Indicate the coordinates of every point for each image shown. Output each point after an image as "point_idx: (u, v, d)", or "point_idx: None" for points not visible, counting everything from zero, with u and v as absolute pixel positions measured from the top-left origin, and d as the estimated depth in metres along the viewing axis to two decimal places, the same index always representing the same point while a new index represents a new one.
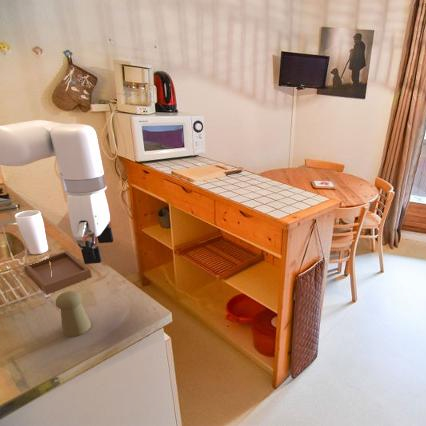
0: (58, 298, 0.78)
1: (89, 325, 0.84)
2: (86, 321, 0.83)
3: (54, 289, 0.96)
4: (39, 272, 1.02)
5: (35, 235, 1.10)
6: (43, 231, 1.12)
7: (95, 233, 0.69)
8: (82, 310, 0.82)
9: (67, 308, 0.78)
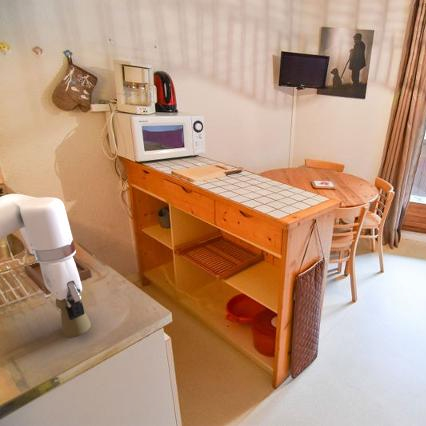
0: None
1: (89, 325, 0.84)
2: (86, 321, 0.83)
3: None
4: (39, 272, 1.02)
5: None
6: None
7: (81, 289, 0.77)
8: None
9: None
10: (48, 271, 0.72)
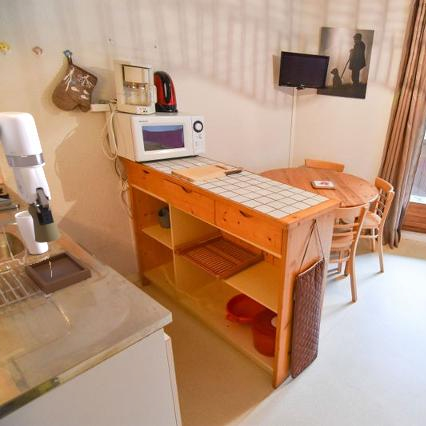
0: (30, 206, 0.89)
1: (59, 235, 0.95)
2: (56, 231, 0.94)
3: (54, 289, 0.96)
4: (39, 272, 1.02)
5: None
6: None
7: (49, 197, 0.88)
8: None
9: None
10: (19, 176, 0.83)
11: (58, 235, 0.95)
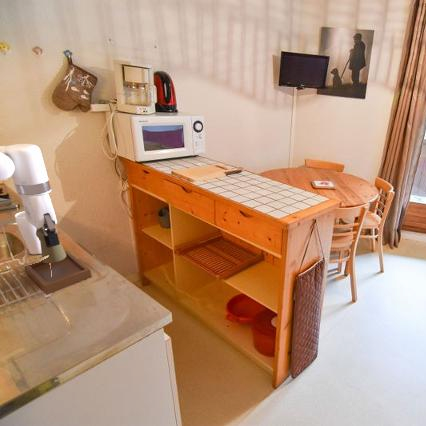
0: (38, 229, 0.96)
1: (64, 255, 1.02)
2: (62, 252, 1.01)
3: (54, 289, 0.96)
4: (39, 272, 1.02)
5: (35, 235, 1.10)
6: None
7: (55, 221, 0.94)
8: None
9: None
10: (28, 203, 0.90)
11: (64, 255, 1.01)
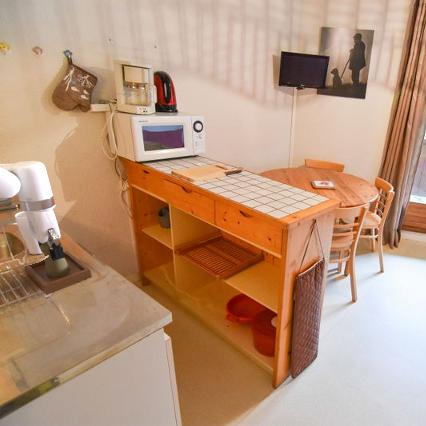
0: (42, 244, 0.98)
1: (68, 269, 1.04)
2: (66, 266, 1.03)
3: (54, 289, 0.96)
4: (39, 272, 1.02)
5: None
6: None
7: (59, 236, 0.96)
8: None
9: (49, 252, 0.98)
10: (32, 219, 0.92)
11: (67, 269, 1.03)
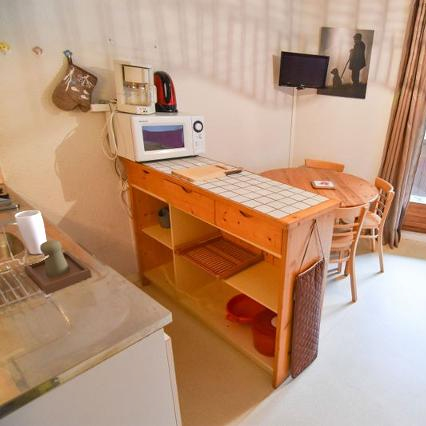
0: (42, 244, 0.98)
1: (68, 269, 1.04)
2: (66, 266, 1.03)
3: (54, 289, 0.96)
4: (39, 272, 1.02)
5: (35, 235, 1.10)
6: (43, 231, 1.12)
7: None
8: (62, 256, 1.01)
9: (49, 252, 0.98)
10: None
11: (67, 269, 1.03)
